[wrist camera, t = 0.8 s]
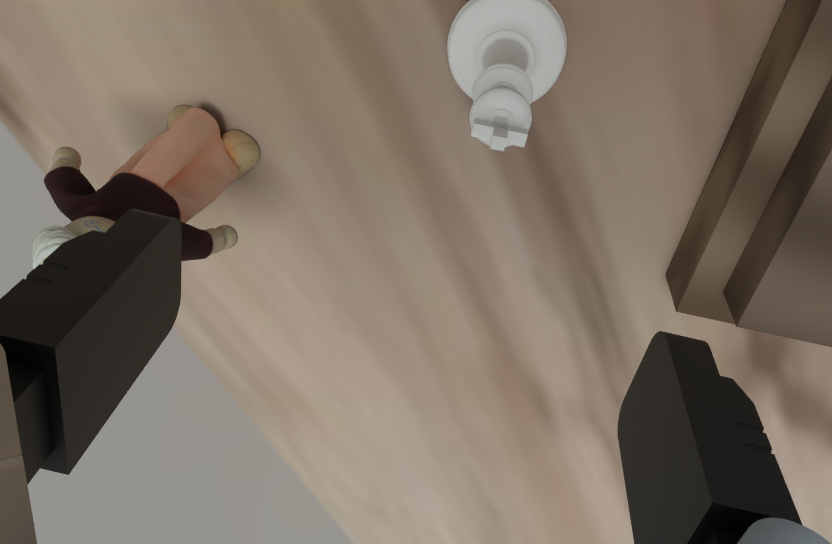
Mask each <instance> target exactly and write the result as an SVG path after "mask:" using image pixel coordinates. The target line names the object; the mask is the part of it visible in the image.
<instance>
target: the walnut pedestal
mask: <svg viewBox="0 0 832 544" xmlns="http://www.w3.org/2000/svg"><path fill="white" fill-rule="evenodd" d="M666 278H667V282H668V285H669V289H670V292H671V296H672V299H673V303H674V306H675V309H676V312H681V313H686V314H690V315H695V316H700V317H704V318H709V319H714V320H718V321H723V322H728V323H732V324H736V327H741V328H745V329H750V330H755V331H760V332H764V333H769V334H774V335H778V336H783V337H788V338H792V339H797V340H802V341H806V342H811V343H816V344H820V345H825V346H830V347H832V0H787V2H786V4H785V6H784V8H783V11H782V13H781V15H780V17H779V20H778V22H777V24H776V27H775V29H774V31H773V33H772V36H771V38H770V40H769V42H768V45H767V47H766V49H765V51H764V54H763V56H762V58H761V60H760V63H759V65H758V67H757V69H756V72H755V74H754V76H753V78H752V81H751V83H750V85H749V87H748V90H747V92H746V94H745V96H744V99H743V101H742V103H741V105H740V108H739V110H738V112H737V115H736V117H735V119H734V121H733V124H732V126H731V128H730V130H729V133H728V135H727V137H726V139H725V142H724V144H723V146H722V148H721V151H720V153H719V155H718V157H717V160H716V162H715V164H714V166H713V169H712V171H711V173H710V175H709V178H708V180H707V182H706V184H705V187H704V189H703V191H702V193H701V196H700V198H699V200H698V202H697V205H696V207H695V209H694V212H693V214H692V216H691V218H690V221H689V223H688V225H687V227H686V230H685V232H684V234H683V236H682V239H681V241H680V243H679V245H678V248H677V250H676V252H675V254H674V257H673V259H672V261H671V263H670V266H669V268H668V270H667V272H666Z"/></svg>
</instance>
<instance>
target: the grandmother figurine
mask: <svg viewBox="0 0 832 544" xmlns="http://www.w3.org/2000/svg"><path fill="white" fill-rule="evenodd" d="M220 137H221V135H220V129H219V125H218V123H217V122H216V120H215V119H214V118H213V117H212V116H211V115H210V114H209V113H208V112H206V111H205V110H203V109H200V108H196V107H190V106H187V105H180V106H177V107H175V108H173V109H172V111H171V112H170V113H169V116H168V129H167V131H165V132H163V133H161V134H159V135H158V136H156V137H155V138H154V139H152V140H151V141H150V142H149V143H147V144H146V145H145V146H144V147H142V148H141V149H140V150H139V151H138V152H137V153H135V154H134V155H133V156H132V157H131V158H130V159H129V160H128V161H127V162H126V163H125V164H124V165H123V166H121V167H120V168H119V169H118V170H116V171H115V172H114V173H113V175H112V176H111V178H110V180H109V182H107V183H106V184H105V185H104V186H103V187H102V188H100V189H99V190H97V191H95V189H94V188H93V187H92V185H91V184H90V183H89V181H88V180H87V179H86V178H85V177H84V175H83V174H82V173H81V172H80V169H79V168H80V166H81V157H80V155H79V153H78V152H77V151H76V150H75V149H73V148H71V147H62V148H59V149H58V150H56V151H55V153H54V155H53V162H54V164H53V165H52V168H51V171H50V172H49V173H48V174H47V175H46V177H45V178H44V183H45V185H46V188H47V189H48V191H49V192H50V194H51V196H52V198H53V200H54V202H55V204H56V205H57V207H58V208H59V210H60V211H61V212H62V213H63V214H64V215H65V216H66V217H68V218H69V219H70V220H71V221H72V222H71V223H70V224H68V225H66V226H65V227H61V226H51V227H47V228H45V229H43V230H41V231H40V232H39V233H38V234H37V236H36V239H35V240H34V244H33V249H32V254H33V269H35V268H36V267H37V266H38V265H39V264H41V265H42V264H43V260H45V259H46V258H47V257H48V256H49V255H50V254H51V253H52V252H53V251H55V250H56V249H57V248H58V247H59V246H60V245H61V244H62V243H64V242H66V241H69V240H71V239H73V238H76V237H78V236H80V235H83V234H85V233H87V232H90V231H92V230H95V231H99V232H103V233H105V232H106V231H107V230H108V229H109V228H110V227H111V226H112V225H113V224H114V223H115V222H117V221H118V220H119V219H120V218H121V217H122V216H123V215H124V214H125V213H126V212H127V211H128V210H130V209H137V210H141V211H146V212H150V213H155V214H159V215H163V216H168V217H172V218H176V219H178V220H179V222H180V224H181V230H182V246H181V261H187V260H197V259H204V258H207V257H208V256H209V255H211V254H214V253H217V252H219V251H221V250H222V249H230V248H232V247H233V246H234V245H235V244H236V243H237V240H238V235H237V232H236V230H235V229H234V228H233V227H231V226H229V225H222V226H219V227H217V228H216V229H214V228H210V229H207V230H200V229H197V228H195V227H193V226H190V225H188V224H186V222H187V221H188V220H190V219H191V218H192V217H194V216H195V215H196V214H197V213H199V212H200V211H202V210H203V209H204V208H205V207H207V206H208V205H209V204H210V203H212V202H213V201H214V200H215V199H216V198H217V197H218V196H219V195H220V194H221V193H222V192H223V191H224V190H225V189H226V187H227V186H228V185H229V184H230V183H231V182H232V181H233V180H235V179H237V178H239V177H240V176H241V175H243V174H244V173H245V172H246V171H248V170H249V169H250V168H252V167H253V166H254V165H255V164H256V163H257V161H258V159H259V155H260V152H259V147H258V145H257V144H256V142H255V141H254V140H253V139H252V138H251V137H250V136H248V135H247V134H246V133H244V132H242V131H238V130H231V131H227V132H226V133H224V134H223V135H222V137H221V138H220Z"/></svg>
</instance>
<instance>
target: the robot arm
mask: <svg viewBox="0 0 832 544" xmlns="http://www.w3.org/2000/svg"><path fill="white" fill-rule="evenodd" d="M181 246H182V230H181V224H180V222H179V220H178V219H176V218H172V217H168V216H163V215H159V214H155V213H150V212H146V211H141V210H137V209H130V210H128V211H127V212H126V213H125V214H124V215H123V216H122V217H121V218H120V219H119V220H118V221H117V222H115V223H114V224H113V225H112V226H111V227H110V228H109V229H108V230H107V231H106V232H105V233H103V232H99V231H95V230H92V231H90V232H87V233H85V234H83V235H80V236H78V237H76V238H73V239H71V240H69V241H66V242H64V243H62V244H61V245H60V246H59V247H58V248H57V249H56V250H55V251H53V252H52V253H51V254H50V255H49V256H48V257H47V258H46V259H45V260H43V264H42V265H41V264H39V265H38V266H37V267H36V268H35V269H33V270H32V271H31V272H30V273H29V274H28V275H27V278H26V280H25V279H22V280H21V281H20V282H19V283H18V284H17V285H16V286H14V287H13V288H12V289H11V290H10V291H9V292H8V293H7V294H6V295H4V296H3V297H2V298H1V299H0V544H37V541H36V535H35V529H34V522H33V516H32V511H31V504H30V498H29V492H28V486H27V484H28V483H29V482H30V481H31V479H32V478H33V476H34V475H35V474H36V472H37V471H38V470H39V469H40V468H42V469H46V470H50V471H54V472H59V473H63V474H69V473H70V472H71V471H72V469H73V468H74V466H75V465H76V464H77V462H78V461H79V459H80V458H81V457H82V455H83V454H84V452H85V451H86V449H87V448H88V447H89V445H90V444H91V442H92V441H93V440H94V438H95V437H96V435H97V434H98V433H99V431H100V430H101V428H102V427H103V425H104V424H105V423H106V421H107V420H108V418H109V417H110V415H111V414H112V413H113V411H114V410H115V408H116V407H117V406H118V404H119V403H120V401H121V400H122V399H123V397H124V396H125V394H126V393H127V391H128V390H129V389H130V387H131V386H132V384H133V383H134V382H135V380H136V378H137V377H138V376H139V374H140V373H141V372H142V370H143V369H144V367H145V366H146V364H147V363H148V361H149V360H150V359H151V358H152V356H153V355H154V353H155V352H156V350H157V349H158V348H159V346H160V345H161V343H162V342H163V340H164V339H165V338H166V336H167V335H168V333H169V332H170V330H171V329H172V327H173V324H174V322H175V320H176V317H177V314H178V310H179V305H180V299H181ZM763 429H764V428H763V425H762V423H761V420H760V418H759V415H758V413H757V410H756V408H755V405H754V403H753V402H752V401H751V400H750V398H749V397H748V396H747V395H746V394H745V393H744V392H743V390H742V389H741V388H740V387H739V386H738V385H737V383H736V382H735V381H734V380H733V379H731V378H727V377H723V376H720V375H719V372H718V369H717V366H716V364H715V361H714V358H713V355H712V352H711V350H710V347H709V345H708V344H707V342H705V341H701V340H697V339H693V338H688V337H684V336H680V335H675V334H671V333H667V332H662V331H659V332H657V333H656V334H655V335H654V337H653V338H652V340H651V342H650V344H649V346H648V348H647V350H646V352H645V355H644V357H643V359H642V361H641V363H640V365H639V368H638V370H637V372H636V374H635V376H634V378H633V381H632V383H631V385H630V387H629V389H628V391H627V394H626V396H625V398H624V400H623V403H622V406H621V410H620V414H619V420H618V440H619V447H620V453H621V460H622V466H623V473H624V479H625V486H626V492H627V499H628V505H629V512H630V518H631V525H632V531H633V537H634V544H831V543H829V542H828V541H827V540H826V539H824V538H823V537H822V536H820V535H819V534H817V533H815V532H814V531H812V530H811V529H809V528H807V527H805V526H803V525H802V523H801V520H800V518H799V515H798V513H797V510H796V508H795V505H794V503H793V500H792V498H791V495H790V493H789V490H788V488H787V485H786V483H785V480H784V478H783V475H782V473H781V470H780V468H779V465H778V463H777V460H776V458H775V455H774V454H771V450H772V448H771V445H770V443H769V440H768V438H767V435H766V433H763Z"/></svg>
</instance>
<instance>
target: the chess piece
mask: <svg viewBox="0 0 832 544" xmlns="http://www.w3.org/2000/svg"><path fill="white" fill-rule="evenodd" d="M566 53H567V35H566V30H565V26H564V23H563V21H562V19H561V17H560V15H559V13H558V12H557V10H556V9H555V8H554V6H553V5H552V4H551V3H550V2H549V1H548V0H469V1H468V2H467V3H466V4H465V5H464V6H463V7H462V8H461V10H460V11H459V12H458V14H457V15H456V17H455V19H454V21H453V23H452V25H451V28H450V31H449V35H448V41H447V55H448V61H449V66H450V69H451V72H452V75H453V77H454V79H455V81H456V82H457V84H458V85H459V87H460V88H461V89H462V90H463V91H464V92H465V93H466V94H467V95H468V96H469V97H470V98H472V99H473V102H474V103H473V105H472V107H471V110H470V117H469V120H470V126H471V129H472V133H471V137H476V138H478V139H479V140H480V141H481V142H483V143H484V144H486V145H489V146H490V149H494V150H499V151H503V152H504V149H505V147H509V146H512V145H515V146H520V147H525V143H526V140H527V136H528V131H529V129H530V126H531V122H532V112H531V108H530V105H531V103H532V102H534V101H535V100H537V99H539V98H540V97H541V96H543V95H544V94H545V93H546V92H547V91H548V90H549V89H550V88H551V87H552V86H553V84H554V83H555V82H556V80H557V78H558V77H559V75H560V73H561V70H562V68H563V65H564V62H565V58H566Z"/></svg>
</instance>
